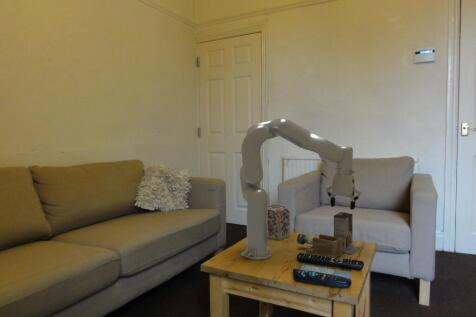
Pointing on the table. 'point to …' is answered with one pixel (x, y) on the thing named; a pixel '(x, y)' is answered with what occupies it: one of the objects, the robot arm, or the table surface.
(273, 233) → the decorative jar
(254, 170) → the robot arm
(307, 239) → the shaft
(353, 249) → the spacer mat
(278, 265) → the table surface
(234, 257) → the table surface
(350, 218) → the coffee box
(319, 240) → the brown open box
